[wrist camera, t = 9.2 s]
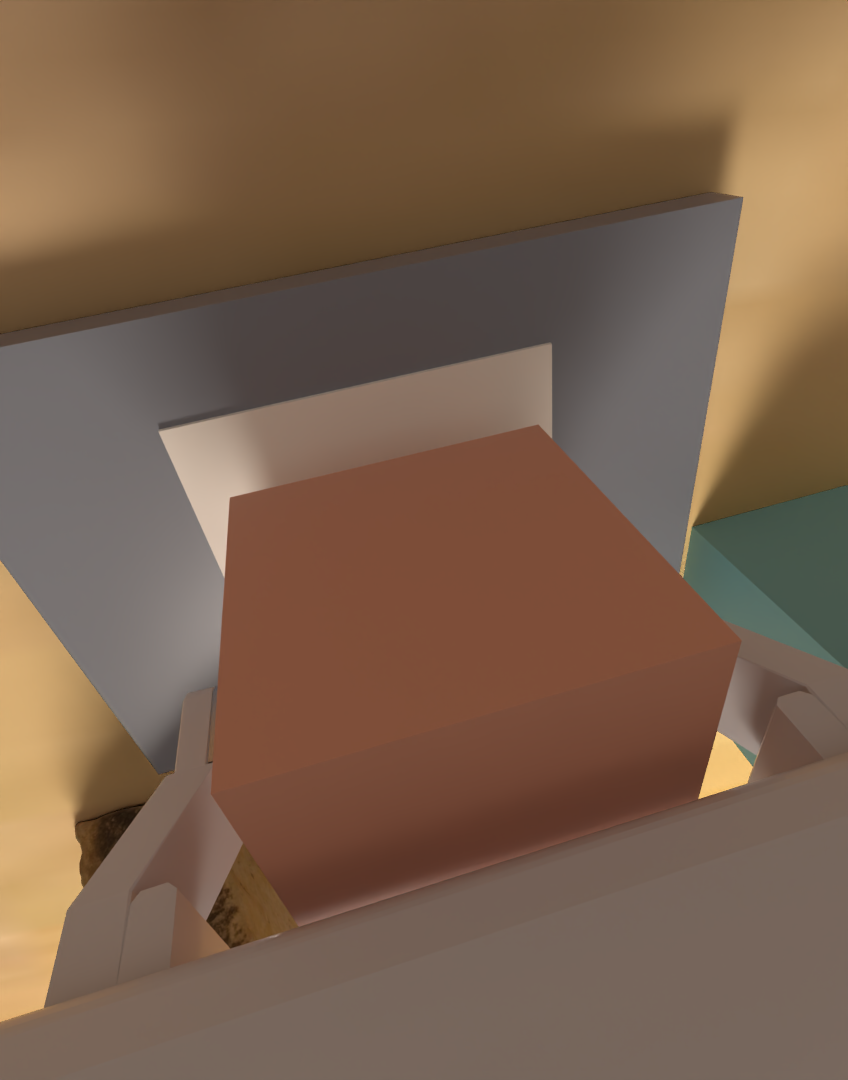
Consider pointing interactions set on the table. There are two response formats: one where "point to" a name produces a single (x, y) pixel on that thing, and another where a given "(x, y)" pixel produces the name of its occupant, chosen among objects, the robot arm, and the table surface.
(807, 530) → the teal block
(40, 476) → the grey flat plate
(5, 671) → the table surface
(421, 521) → the terracotta block
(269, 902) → the rock
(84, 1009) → the robot arm
